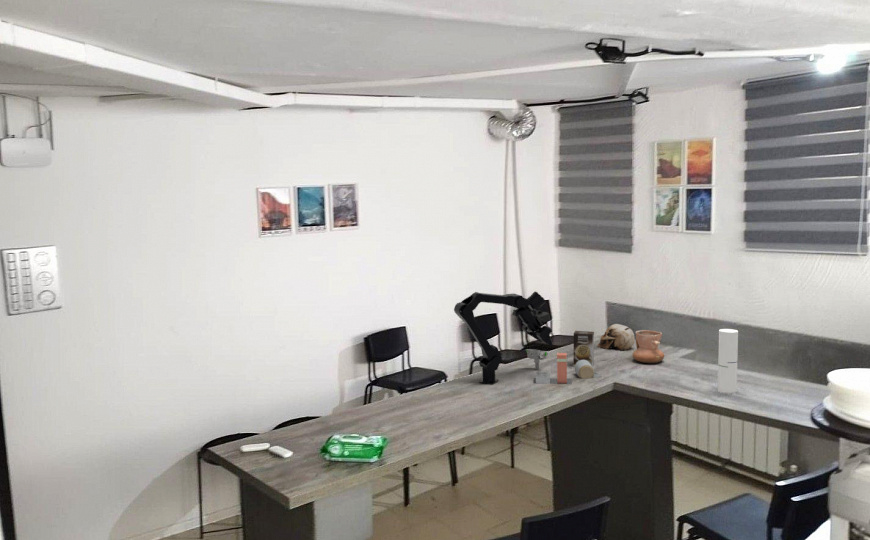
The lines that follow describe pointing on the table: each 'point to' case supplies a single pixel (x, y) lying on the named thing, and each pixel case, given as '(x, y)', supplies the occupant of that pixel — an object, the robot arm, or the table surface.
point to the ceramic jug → (648, 347)
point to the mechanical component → (536, 356)
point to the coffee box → (583, 347)
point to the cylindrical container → (727, 360)
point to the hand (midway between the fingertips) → (546, 343)
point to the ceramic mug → (585, 369)
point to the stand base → (554, 381)
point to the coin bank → (617, 337)
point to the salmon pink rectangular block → (561, 367)
